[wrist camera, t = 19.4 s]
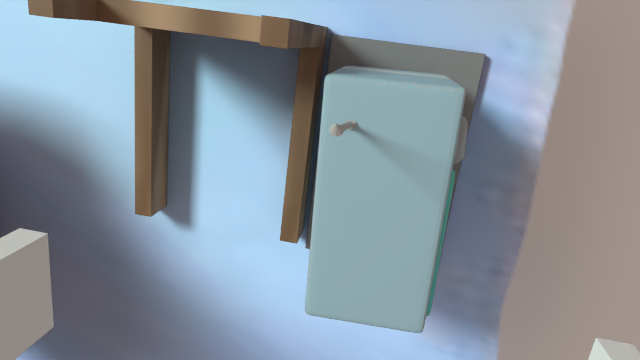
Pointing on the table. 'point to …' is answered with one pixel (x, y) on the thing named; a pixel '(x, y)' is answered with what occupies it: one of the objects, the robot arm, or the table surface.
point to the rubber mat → (407, 58)
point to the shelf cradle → (153, 85)
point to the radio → (383, 194)
